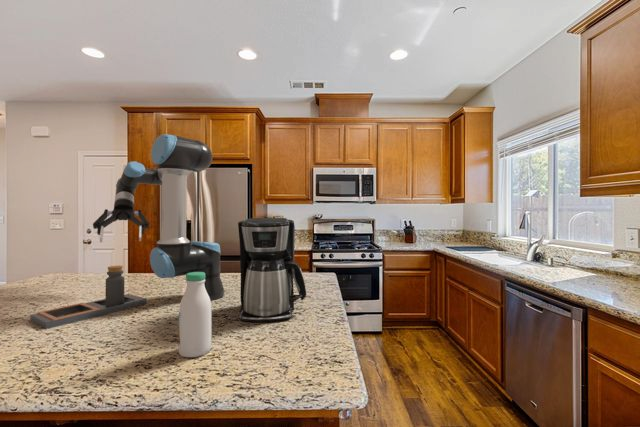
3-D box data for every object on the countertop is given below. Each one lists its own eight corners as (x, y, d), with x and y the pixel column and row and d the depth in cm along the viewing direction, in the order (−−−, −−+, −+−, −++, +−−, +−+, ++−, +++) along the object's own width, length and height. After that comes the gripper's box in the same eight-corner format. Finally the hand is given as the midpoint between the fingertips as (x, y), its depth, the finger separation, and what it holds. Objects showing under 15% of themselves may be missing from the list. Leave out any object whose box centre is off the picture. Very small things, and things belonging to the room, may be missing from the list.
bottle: (111, 304, 116) (111, 265, 116) (127, 304, 117) (127, 265, 117) (101, 309, 110) (102, 267, 110) (118, 308, 111) (118, 267, 111)
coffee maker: (245, 328, 93) (246, 218, 93) (223, 301, 121) (223, 217, 121) (311, 316, 104) (311, 218, 104) (276, 294, 132) (277, 217, 132)
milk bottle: (217, 348, 79) (218, 271, 79) (194, 361, 72) (194, 277, 72) (196, 342, 83) (196, 269, 83) (171, 354, 76) (172, 274, 76)
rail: (146, 303, 117) (146, 297, 117) (46, 329, 91) (46, 321, 91) (128, 298, 124) (128, 293, 124) (30, 320, 98) (30, 313, 98)
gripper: (155, 210, 147) (155, 244, 134) (91, 209, 135) (84, 246, 122) (155, 198, 142) (155, 233, 129) (89, 196, 130) (82, 234, 117)
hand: (121, 239), depth 125 cm, fingers open, 13 cm apart
